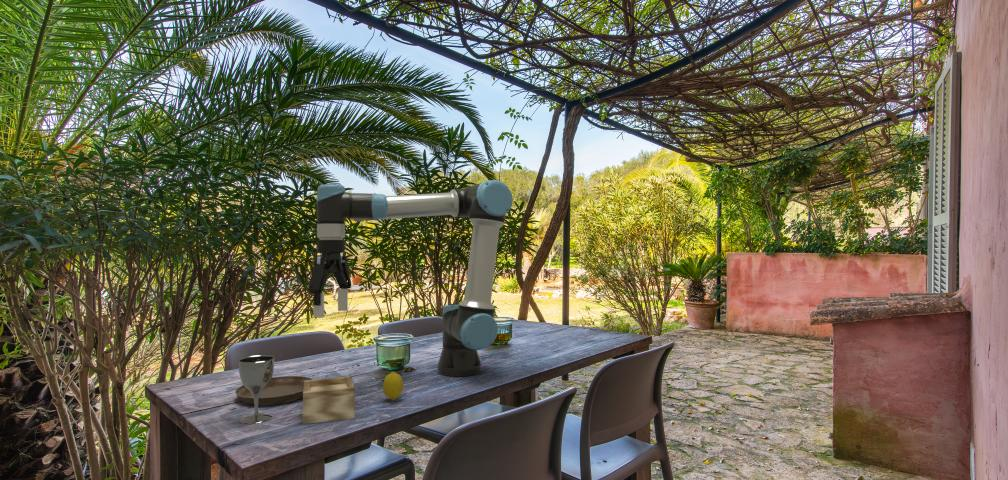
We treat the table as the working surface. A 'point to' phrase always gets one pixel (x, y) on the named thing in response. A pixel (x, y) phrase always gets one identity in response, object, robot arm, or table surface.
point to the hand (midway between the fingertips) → (331, 314)
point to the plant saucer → (276, 391)
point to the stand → (328, 399)
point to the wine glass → (256, 381)
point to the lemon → (393, 386)
